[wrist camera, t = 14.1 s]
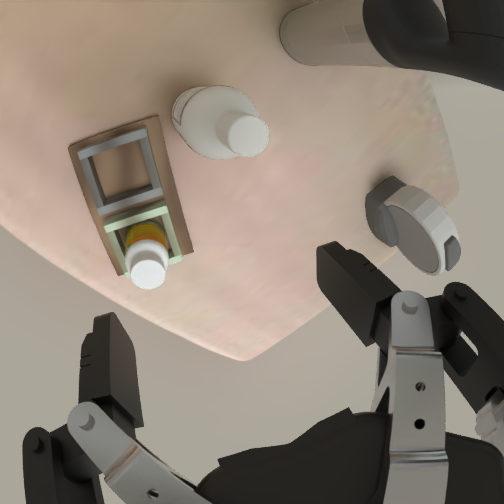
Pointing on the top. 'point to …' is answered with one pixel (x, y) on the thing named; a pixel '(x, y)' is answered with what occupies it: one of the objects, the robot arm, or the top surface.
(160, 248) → the supplement bottle
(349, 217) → the top surface
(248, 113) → the bath foam
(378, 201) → the alarm clock
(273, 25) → the top surface
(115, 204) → the socket board
